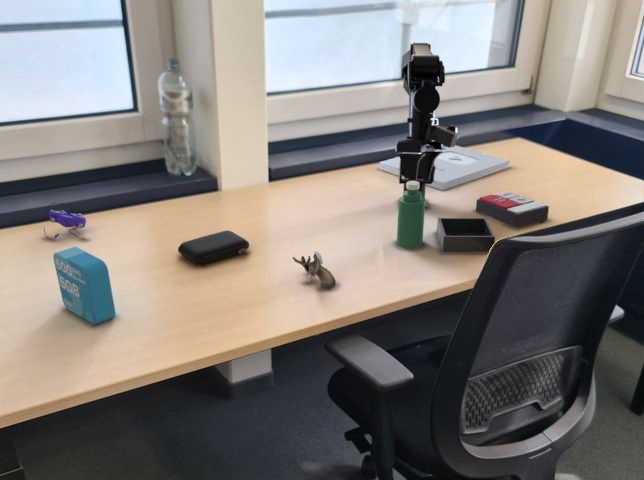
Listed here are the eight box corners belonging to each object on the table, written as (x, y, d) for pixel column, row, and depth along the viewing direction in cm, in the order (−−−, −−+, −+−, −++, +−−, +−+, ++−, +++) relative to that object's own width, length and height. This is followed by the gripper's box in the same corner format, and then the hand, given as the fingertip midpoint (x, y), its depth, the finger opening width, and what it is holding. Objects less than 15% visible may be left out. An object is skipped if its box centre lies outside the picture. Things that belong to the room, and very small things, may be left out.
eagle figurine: (285, 275, 159) (308, 283, 152) (297, 243, 158) (321, 249, 151) (312, 286, 164) (336, 294, 157) (324, 255, 163) (348, 262, 156)
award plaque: (379, 169, 222) (379, 162, 221) (445, 149, 239) (446, 142, 238) (442, 190, 207) (443, 182, 206) (508, 167, 224) (509, 160, 223)
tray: (436, 233, 181) (437, 217, 179) (484, 233, 182) (486, 217, 179) (442, 253, 172) (443, 236, 169) (493, 253, 172) (495, 236, 170)
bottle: (402, 237, 179) (406, 176, 171) (426, 242, 177) (430, 181, 169) (392, 246, 175) (395, 184, 166) (416, 251, 172) (420, 188, 164)
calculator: (507, 189, 197) (550, 203, 186) (506, 205, 200) (548, 220, 189) (476, 196, 192) (517, 211, 181) (474, 212, 195) (516, 228, 184)
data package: (63, 307, 149) (51, 250, 142) (83, 299, 151) (72, 244, 145) (96, 327, 142) (85, 269, 135) (117, 319, 145) (107, 262, 138)
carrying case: (199, 270, 163) (256, 253, 171) (198, 257, 161) (255, 241, 169) (175, 254, 170) (230, 238, 178) (173, 242, 168) (229, 226, 176)
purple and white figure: (91, 208, 184) (89, 214, 175) (86, 240, 186) (84, 248, 177) (48, 198, 180) (44, 204, 171) (43, 232, 183) (39, 239, 174)
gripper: (443, 113, 163) (439, 187, 168) (467, 114, 179) (463, 181, 184) (395, 113, 168) (393, 185, 173) (423, 113, 183) (420, 179, 189)
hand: (419, 182), depth 179 cm, fingers open, 9 cm apart
